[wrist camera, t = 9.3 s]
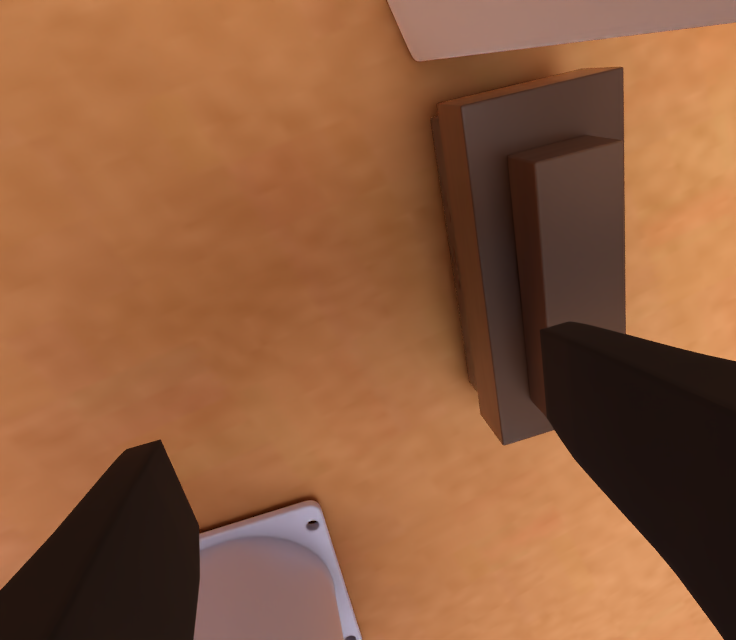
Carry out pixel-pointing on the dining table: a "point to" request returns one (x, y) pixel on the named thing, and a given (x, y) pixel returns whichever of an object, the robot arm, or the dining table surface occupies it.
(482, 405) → the brush
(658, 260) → the dining table surface
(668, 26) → the milk carton
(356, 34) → the dining table surface
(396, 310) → the dining table surface
